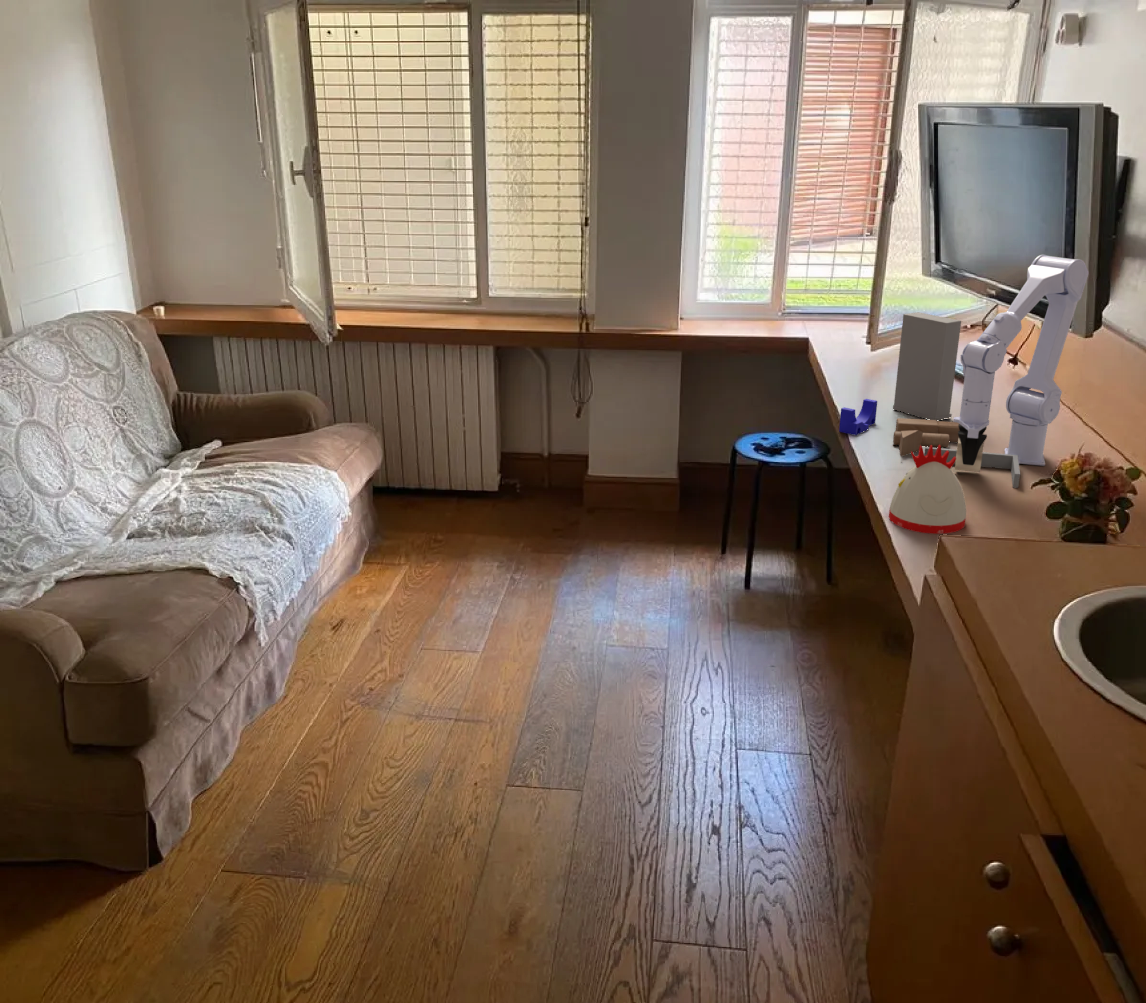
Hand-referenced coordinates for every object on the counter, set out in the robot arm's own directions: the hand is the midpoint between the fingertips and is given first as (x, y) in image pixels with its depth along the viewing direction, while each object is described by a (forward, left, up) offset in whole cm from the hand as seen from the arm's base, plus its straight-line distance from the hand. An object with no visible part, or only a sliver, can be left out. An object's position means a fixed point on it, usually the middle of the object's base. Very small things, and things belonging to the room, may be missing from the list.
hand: (968, 460), depth 218 cm
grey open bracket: (0, 0, -3) cm, 3 cm away
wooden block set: (-17, -7, -4) cm, 19 cm away
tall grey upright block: (-44, -11, -3) cm, 45 cm away
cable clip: (-27, -25, -3) cm, 37 cm away
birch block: (0, 0, -2) cm, 2 cm away
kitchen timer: (+30, -7, -3) cm, 31 cm away
